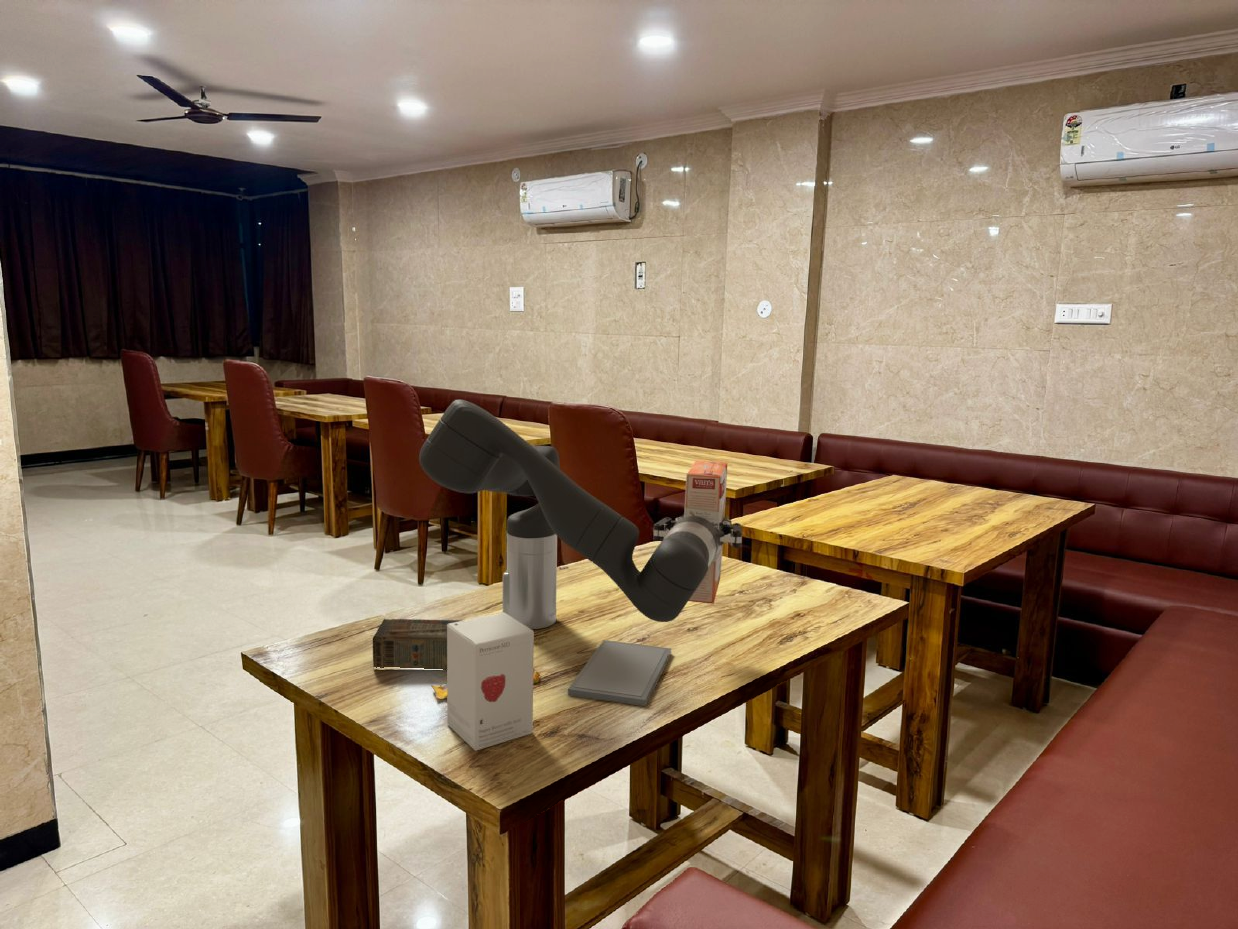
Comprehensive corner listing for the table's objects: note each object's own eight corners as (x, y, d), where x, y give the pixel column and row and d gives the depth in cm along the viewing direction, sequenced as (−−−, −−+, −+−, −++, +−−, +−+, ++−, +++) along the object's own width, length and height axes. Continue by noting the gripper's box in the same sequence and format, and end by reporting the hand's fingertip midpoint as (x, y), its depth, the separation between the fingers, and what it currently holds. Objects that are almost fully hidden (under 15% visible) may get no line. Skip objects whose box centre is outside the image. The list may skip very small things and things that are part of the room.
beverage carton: (492, 673, 130) (492, 634, 129) (370, 673, 129) (369, 634, 128) (496, 653, 138) (496, 616, 137) (382, 653, 137) (381, 616, 136)
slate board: (645, 706, 120) (645, 699, 120) (567, 695, 123) (567, 688, 123) (671, 654, 139) (671, 648, 139) (603, 645, 142) (603, 639, 142)
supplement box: (474, 753, 106) (473, 644, 103) (445, 725, 113) (444, 622, 110) (535, 734, 111) (535, 630, 109) (504, 708, 118) (503, 610, 116)
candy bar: (534, 674, 131) (534, 664, 130) (543, 685, 127) (544, 674, 127) (430, 693, 123) (429, 682, 123) (436, 705, 120) (436, 694, 119)
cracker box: (716, 605, 128) (723, 475, 125) (678, 602, 129) (683, 472, 126) (723, 579, 142) (728, 460, 138) (688, 576, 143) (693, 458, 139)
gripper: (640, 567, 121) (662, 539, 137) (737, 576, 117) (748, 547, 133) (642, 518, 119) (664, 496, 135) (740, 526, 116) (751, 502, 132)
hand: (706, 521), depth 134 cm, fingers closed on cracker box, 6 cm apart
